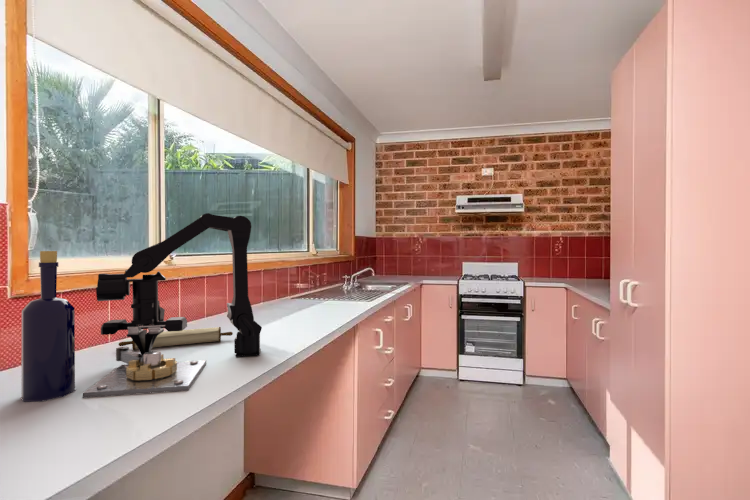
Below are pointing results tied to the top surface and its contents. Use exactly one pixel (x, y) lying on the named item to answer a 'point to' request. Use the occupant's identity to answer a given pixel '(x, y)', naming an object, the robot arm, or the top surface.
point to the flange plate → (122, 385)
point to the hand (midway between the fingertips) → (146, 358)
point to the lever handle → (144, 365)
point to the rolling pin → (185, 337)
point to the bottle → (48, 340)
